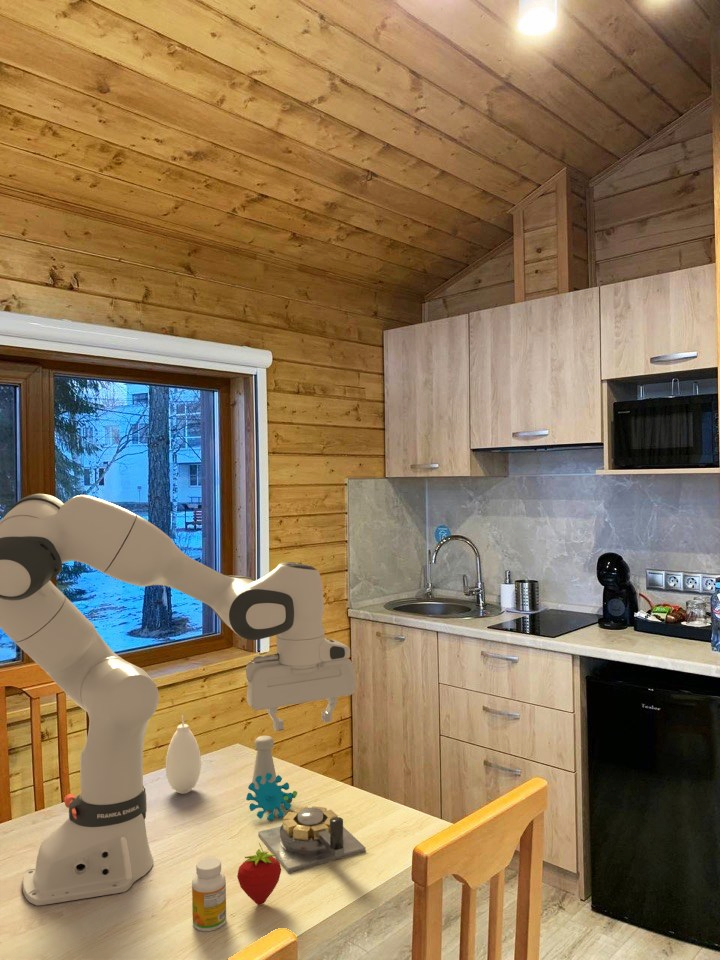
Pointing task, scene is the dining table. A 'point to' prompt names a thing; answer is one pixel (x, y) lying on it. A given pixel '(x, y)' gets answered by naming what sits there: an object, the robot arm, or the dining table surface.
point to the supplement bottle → (208, 895)
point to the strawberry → (259, 876)
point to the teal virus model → (270, 796)
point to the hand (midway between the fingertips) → (303, 725)
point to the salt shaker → (264, 760)
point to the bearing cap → (306, 844)
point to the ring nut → (317, 830)
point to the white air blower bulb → (183, 760)
